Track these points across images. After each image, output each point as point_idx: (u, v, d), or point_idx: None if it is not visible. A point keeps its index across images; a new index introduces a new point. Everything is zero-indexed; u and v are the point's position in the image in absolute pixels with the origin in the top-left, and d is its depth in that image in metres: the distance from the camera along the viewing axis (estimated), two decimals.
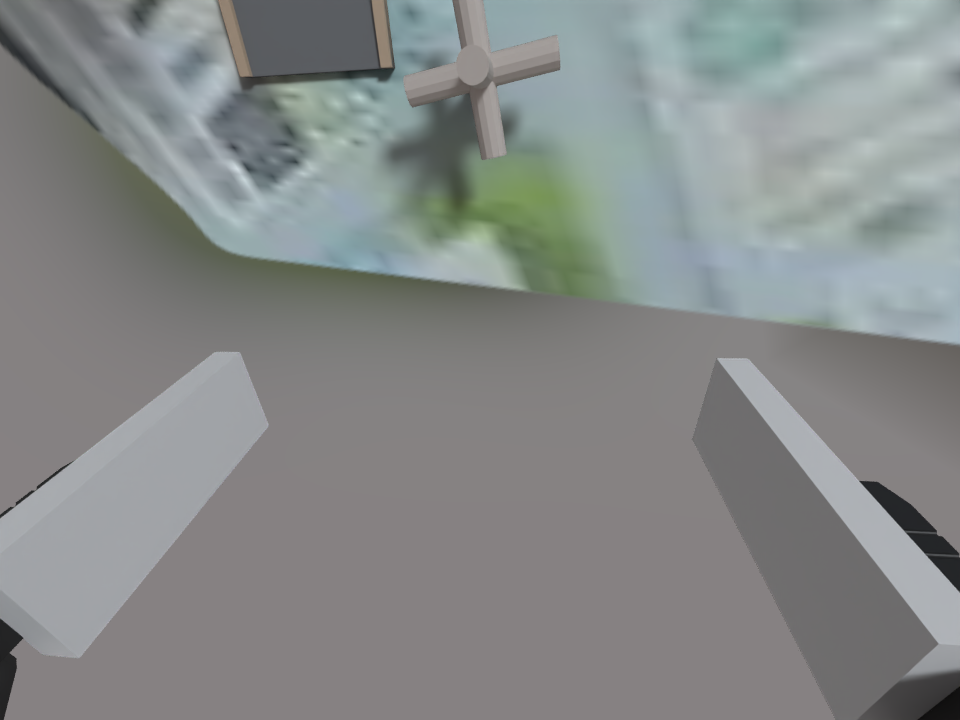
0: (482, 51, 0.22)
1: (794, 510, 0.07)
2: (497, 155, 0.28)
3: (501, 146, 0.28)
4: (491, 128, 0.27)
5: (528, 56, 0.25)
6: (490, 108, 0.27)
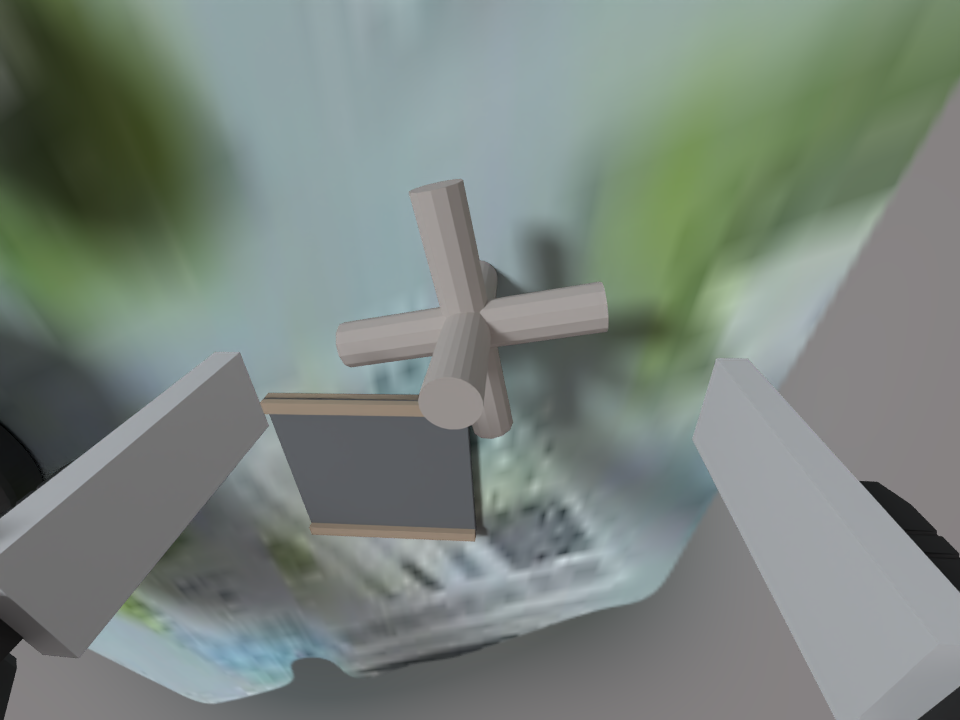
0: (427, 387, 0.11)
1: (794, 510, 0.07)
2: (604, 308, 0.14)
3: (588, 298, 0.14)
4: (555, 318, 0.14)
5: (442, 251, 0.13)
6: (522, 320, 0.14)
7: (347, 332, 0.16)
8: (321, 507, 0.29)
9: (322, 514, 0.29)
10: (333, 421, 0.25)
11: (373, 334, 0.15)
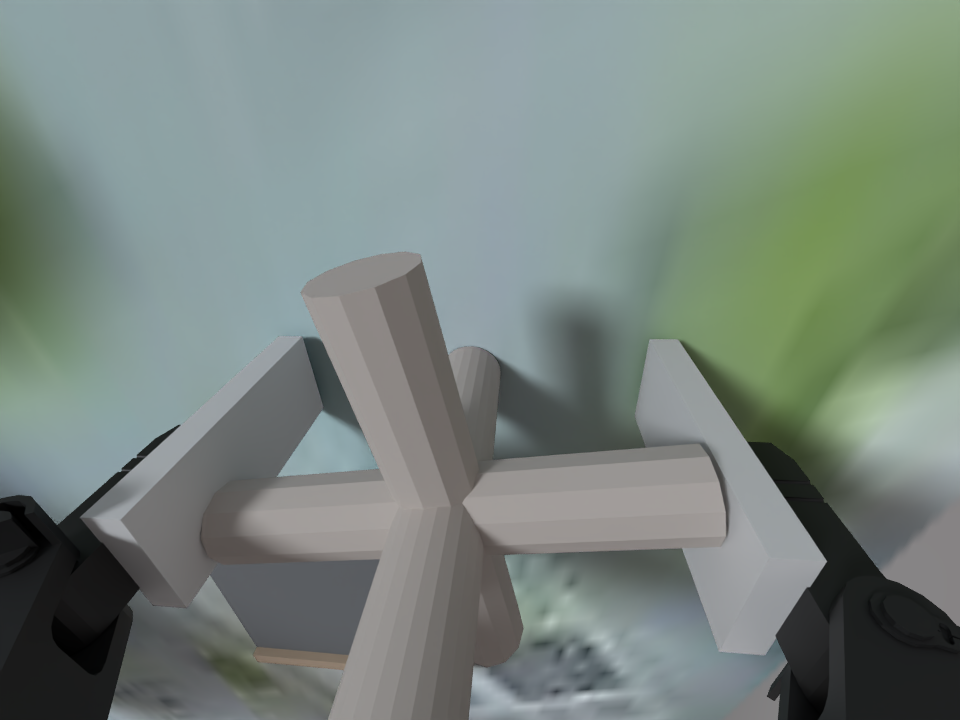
0: None
1: None
2: (719, 520, 0.07)
3: (684, 493, 0.07)
4: (613, 529, 0.07)
5: (378, 409, 0.06)
6: (546, 528, 0.07)
7: (222, 515, 0.08)
8: (267, 632, 0.22)
9: (269, 639, 0.22)
10: None
11: (266, 525, 0.08)
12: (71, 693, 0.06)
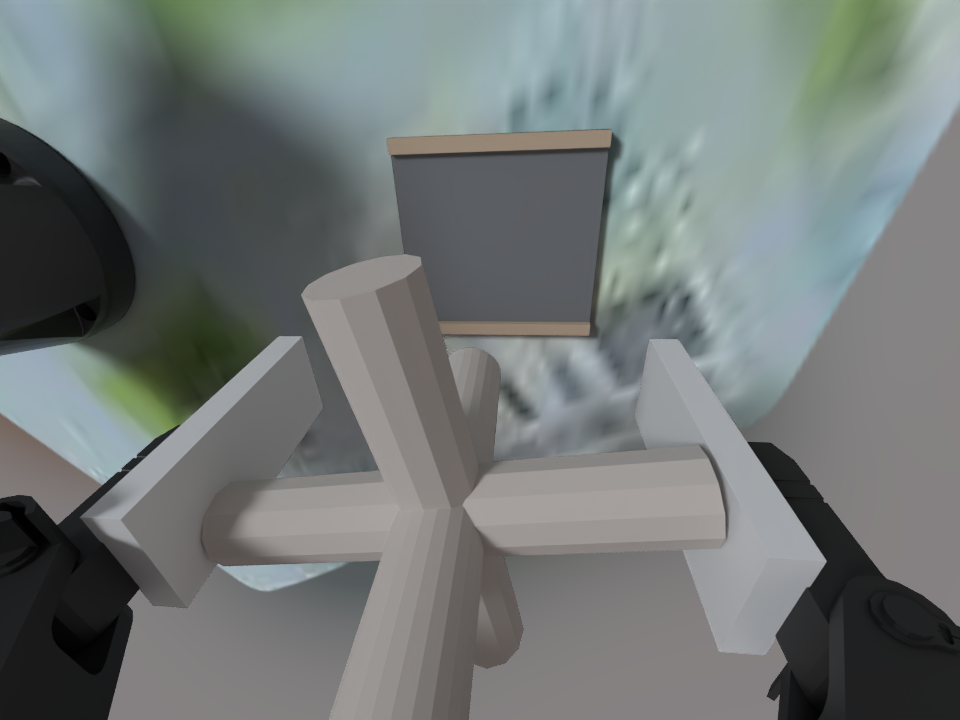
0: None
1: None
2: (719, 522, 0.07)
3: (683, 495, 0.07)
4: (613, 530, 0.07)
5: (378, 412, 0.06)
6: (546, 529, 0.07)
7: (223, 516, 0.09)
8: None
9: None
10: (460, 167, 0.23)
11: (266, 527, 0.08)
12: (71, 693, 0.06)
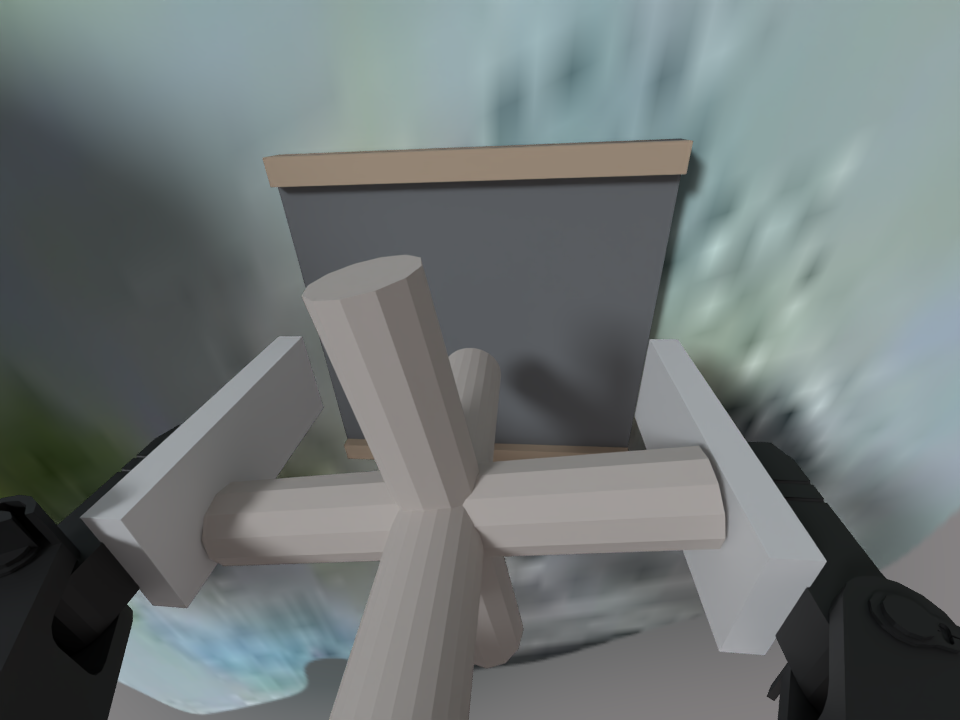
0: None
1: None
2: (719, 522, 0.07)
3: (683, 496, 0.07)
4: (613, 531, 0.07)
5: (378, 412, 0.06)
6: (546, 529, 0.07)
7: (223, 516, 0.09)
8: None
9: None
10: (404, 209, 0.13)
11: (267, 527, 0.08)
12: (71, 693, 0.06)
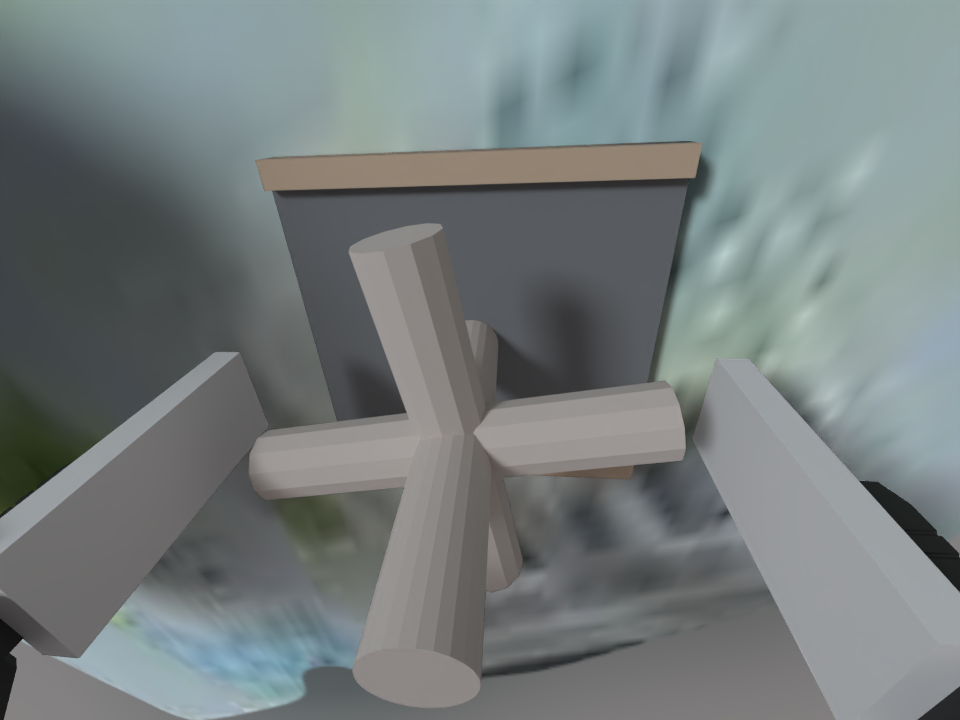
0: (368, 659, 0.05)
1: (794, 510, 0.07)
2: (680, 435, 0.08)
3: (652, 416, 0.09)
4: (597, 447, 0.09)
5: (408, 347, 0.08)
6: (543, 449, 0.09)
7: (267, 454, 0.10)
8: (363, 416, 0.17)
9: None
10: (402, 213, 0.12)
11: (306, 460, 0.10)
12: None
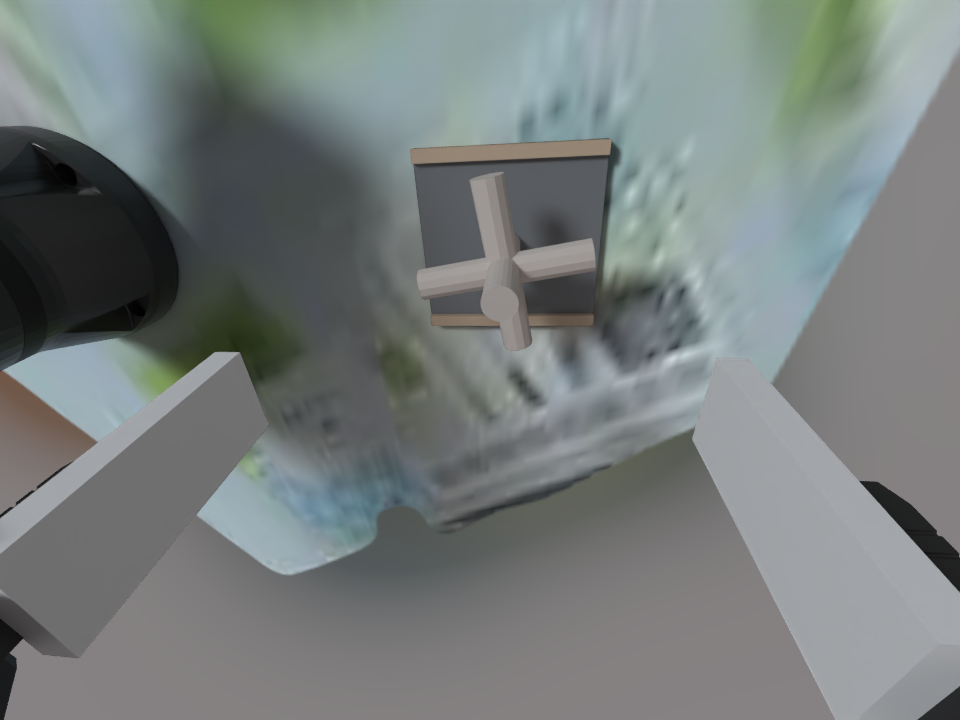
0: (486, 293, 0.19)
1: (794, 510, 0.07)
2: (593, 254, 0.22)
3: (582, 247, 0.22)
4: (561, 261, 0.22)
5: (490, 217, 0.21)
6: (540, 263, 0.22)
7: (424, 274, 0.24)
8: None
9: (444, 302, 0.30)
10: (475, 174, 0.26)
11: (441, 275, 0.23)
12: None
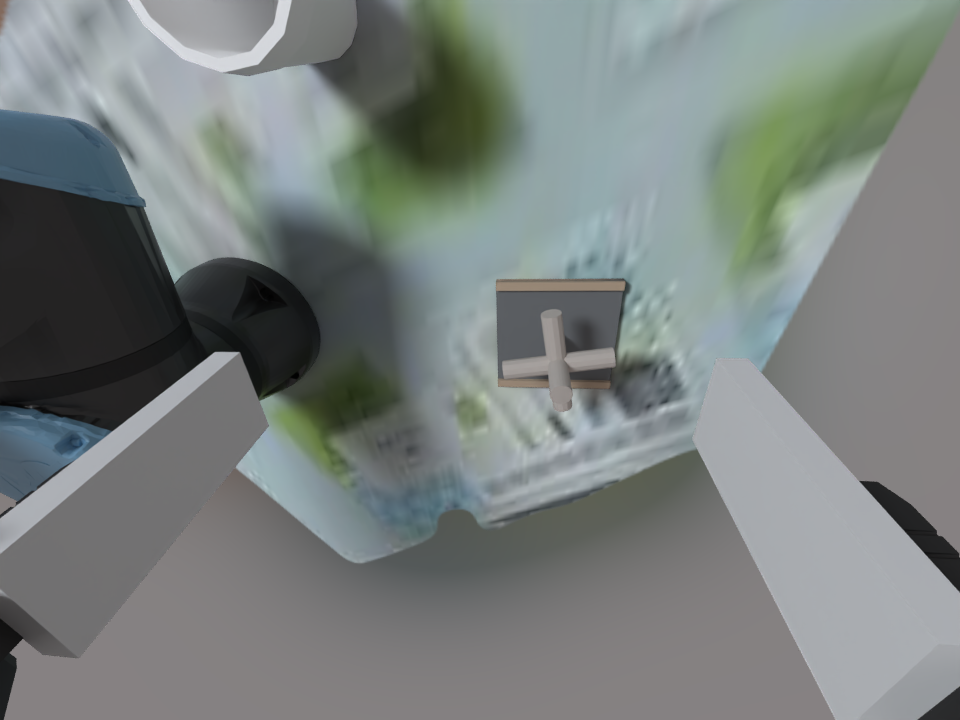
0: (554, 389, 0.33)
1: (794, 510, 0.07)
2: (614, 359, 0.36)
3: (607, 354, 0.36)
4: (594, 362, 0.36)
5: (552, 337, 0.35)
6: (581, 362, 0.36)
7: (507, 365, 0.38)
8: None
9: None
10: (536, 297, 0.40)
11: (518, 366, 0.37)
12: None
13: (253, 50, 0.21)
